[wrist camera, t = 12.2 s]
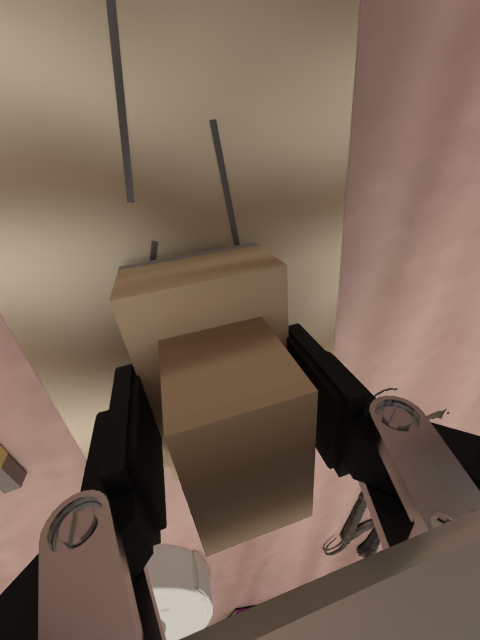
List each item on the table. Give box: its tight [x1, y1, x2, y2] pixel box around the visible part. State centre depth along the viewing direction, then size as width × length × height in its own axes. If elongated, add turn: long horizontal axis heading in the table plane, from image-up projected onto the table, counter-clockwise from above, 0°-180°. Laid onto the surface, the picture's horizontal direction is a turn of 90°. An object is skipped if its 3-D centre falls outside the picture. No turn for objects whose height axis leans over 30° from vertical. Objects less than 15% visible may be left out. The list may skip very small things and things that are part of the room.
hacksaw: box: [325, 388, 449, 558], centre depth 26 cm, size 24×10×2 cm, turn 171°
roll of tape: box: [146, 544, 213, 640], centre depth 21 cm, size 16×15×3 cm
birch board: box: [0, 0, 360, 467], centre depth 10 cm, size 28×14×1 cm, turn 6°
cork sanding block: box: [109, 242, 318, 557], centre depth 10 cm, size 8×5×6 cm, turn 6°
